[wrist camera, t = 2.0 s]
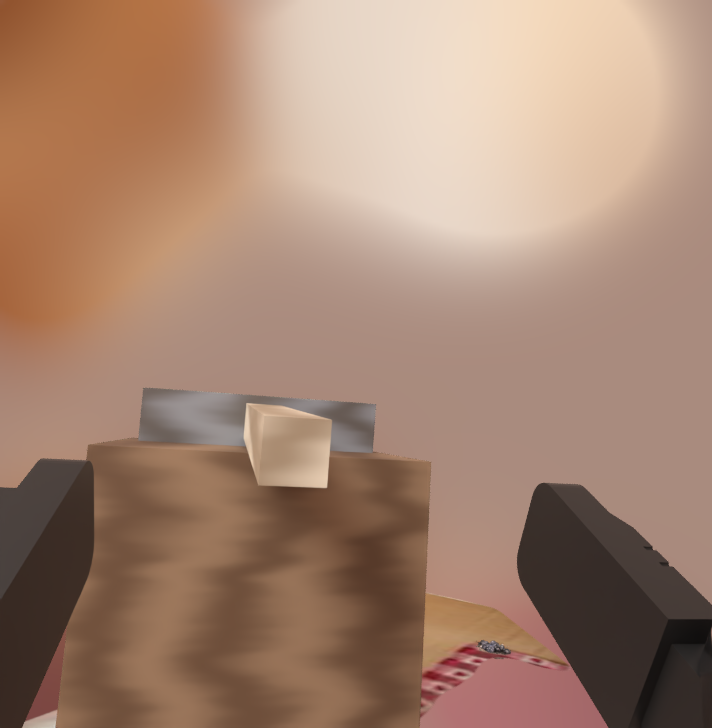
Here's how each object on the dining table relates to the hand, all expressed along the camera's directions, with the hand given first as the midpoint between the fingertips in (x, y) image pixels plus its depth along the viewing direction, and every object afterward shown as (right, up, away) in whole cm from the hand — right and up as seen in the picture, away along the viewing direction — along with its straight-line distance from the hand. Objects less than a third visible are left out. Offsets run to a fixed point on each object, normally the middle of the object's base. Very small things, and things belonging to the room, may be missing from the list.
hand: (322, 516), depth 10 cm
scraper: (-4, -3, +22) cm, 22 cm away
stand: (-8, -35, +23) cm, 42 cm away
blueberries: (+23, -44, +82) cm, 96 cm away
